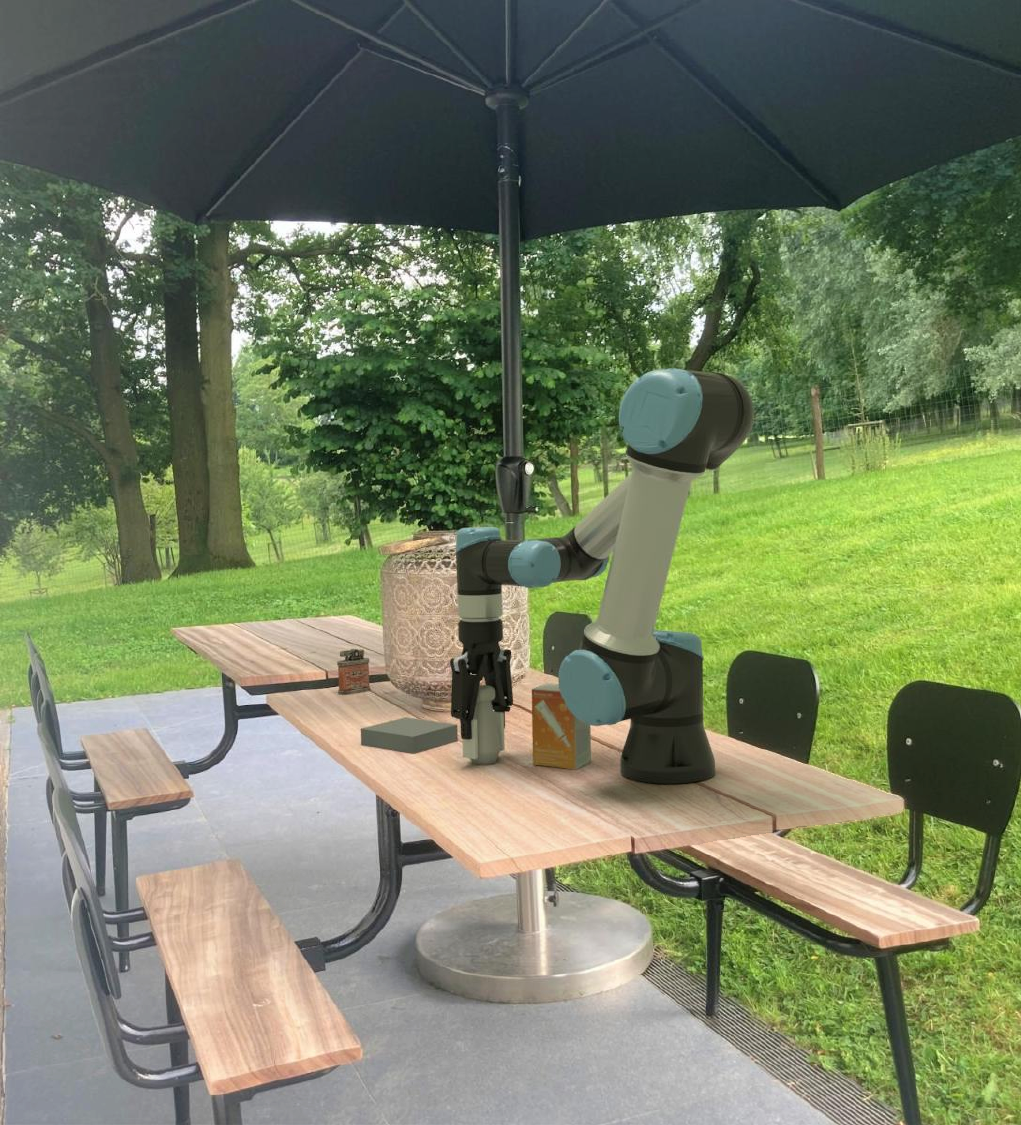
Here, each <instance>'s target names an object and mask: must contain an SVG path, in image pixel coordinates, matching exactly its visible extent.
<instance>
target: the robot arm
mask: <svg viewBox="0 0 1021 1125" xmlns="http://www.w3.org/2000/svg"><path fill="white" fill-rule="evenodd" d="M754 406H755V405H754V403H753V399H752V396H751V395H750V392H749V391H748V390H747V388H746V386H745V385H744V384H742V383H741V382H740V381H739V380H738V379H737V378H735V377H733V376H731V375H730V374H727V373H723V372H716V371H715V372H714V371H712V372H711V371H709V372H708V371H699V370H691V369H690V370H689V369H682V368H674V367H673V368H665V369H655V370H654V369H653V370H652V371H648V372H646V373H644V374H642V375H641V376H639V377H638V378H636V379H635V380H634V381H633V382H632V383H631V384H630V386H629V387H628V388H627V389H626V391H625V393H624V394H623V397H622V400H621V403H620V407H619V411H618V424H619V425H618V426H619V428H620V429H621V430H622V432H621V435H622V437H623V439H624V441H625V442H626V443H627V446H626V450H625V457H626V458H627V461H628V462H629V464H630V465H631V466H632V467H631V468H632V470H631V472H630V473H629V474H628V475H627V476H626V477H625V478H624V479H623V480H622V481H621V482H620V483H618V485H617V486H616V487H615V488H613V490H611V492H610V493H609V494H607V495H606V496H605V497H604V498H603V499H602V500H601V501H600V502H599V503H597V505H596V506H595V507H594V508H593V509H592V510H591V511H589V513H587V514H586V515H585V516H584V517H583V518H582V519H581V520H580V521H579V522H578V523H577V524H576V525H575V526H574V527H573V528H571V529H570V530H569V531H568V532H567V533H566V534H565V535H563V536H556V537H546V538H531V539H502V537H501V531H500V529H499V528H498V527H496V526H495V527H493V526H475V527H474V526H472V527H462V528H460V529H458V531H457V532H456V537H455V538H456V539H455V552H454V554H455V559H456V560H455V563H456V586H457V587H456V588H457V589H456V590H457V611H458V612H457V614H458V615H457V616H458V617H459V618H460V620H459V621H458V623H457V627H458V628H457V629H458V630H457V631H458V641H459V642H460V643H461V644H462V646H463V647H462V652H461V655H460V656H459V657H457V658H454V657H452V658H451V659H450V660H449V664H450V669H451V699H450V700H451V701H450V702H451V703H450V716H451V717H452V718H454V719H456V720H459V721H460V739H461V740H462V758H467V759H470V758H472V759H477V758H478V734H477V720H475V719H473V718H474V712H475V707H476V701H477V696H478V690H479V685H481V684H480V683H481V681H483V680H484V681H485V682H484V684H485V685H488V686H492V687H493V688H494V689H495V699H494V700H492V701H491V703H492V708H493V712H494V717H495V722H496V726H497V731H498V735H499V740H500V744H501V751H505V750H506V749H505V745H506V744H505V729H506V713H509V712H510V711H511V707H512V706H513V705H514V695H513V684H512V682H513V681H512V672H511V658H512V651H511V649H509V648H508V649H507V648H504V649H503V648H501V647H500V645H499V644H500V642H502V641H503V639H504V631H503V630H504V628H503V627H504V626H503V620H502V619H501V617H502V616H503V614H504V613H503V612H504V610H503V589H502V588H503V587H502V586H511V587H524V588H527V589H533V588H544V587H545V588H546V587H548V586H550V585H552V584H553V583H560V582H570V581H571V582H572V581H586V580H589V579H592V578H597V577H598V576H601V575H602V574H603V573H604V572H605V571H606V569H607V566H608V563H609V562H610V564H609V569H608V573H607V576H606V580H605V584H604V585H605V586H604V589H603V594H602V598H601V602H600V606H599V610H598V615H597V618H596V620H594V621H593V622H591V623H589V624H587V625H585V627H584V630H583V633H582V638H581V641H580V646H579V649H576V650H573V651H572V652H571V653H569V654H568V655H566V656H565V657H564V658H563V660H562V661H561V663H560V665H559V666H560V667H559V670H558V677H557V678H558V683H557V684H559V689H560V693H561V696H562V698H563V699H564V700H565V704H566V706H567V708H568V709H569V711H570V712H571V713H572V714H573V715H574V716H575V717H576V718H577V719H578V720H580V721H581V722H583V723H585V724H588V725H590V726H594V727H599V726H606V725H607V726H613V725H616V724H618V723H620V722H623V721H628V720H630V724H629V729H628V733H627V736H626V738H625V743H624V745H623V749H622V753H621V755H620V759H619V761H620V762H619V764H620V765H619V766H620V774H621V776H623V777H624V778H627V779H630V780H634V781H637V782H643V783H649V784H650V783H653V784H670V785H672V784H687V783H695V782H699V781H704V780H707V779H710V778H712V777H713V776H715V774H716V759H715V755H714V754H713V753H714V752H713V750H712V747H711V744H710V741H709V737H708V735H707V733H706V729H705V725H704V679H703V678H704V675H703V674H704V672H703V670H704V669H703V666H704V665H703V664H704V662H703V661H704V660H705V659H704V655H703V647H702V646H703V645H702V640H701V638H700V637H699V635H697V634H696V633H693V632H692V633H691V632H685V631H684V632H682V631H671V630H658V629H655V625H656V622H657V618H658V615H659V611H660V606H661V604H662V603H661V602H662V599H663V594H664V590H665V587H666V583H667V580H668V575H669V571H670V567H671V564H672V561H673V560H672V559H673V555H674V552H675V548H676V544H677V539H678V536H679V532H680V528H681V524H682V521H683V515H684V512H685V507H686V506H687V505H686V504H687V500H688V496H689V493H690V488H691V484H692V483H693V482H694V481H695V480H696V479H697V478H700V477H701V476H703V475H704V474H705V472H706V471H709V472H710V471H715V470H716V469H718V468H719V467H720V466H721V465H722V464H724V463H725V462H726V461H727V460H728V459H730V457H731V456H732V455H733V454H735V452H737V450H739V448H740V447H741V446H742V445H743V444H744V442H745V441H746V440H747V438H748V437H749V434H751V430H752V429H753V425H754V419H755V408H754ZM611 554H612V555H611ZM610 555H611V560H610ZM501 751H500V752H501Z"/></svg>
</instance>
